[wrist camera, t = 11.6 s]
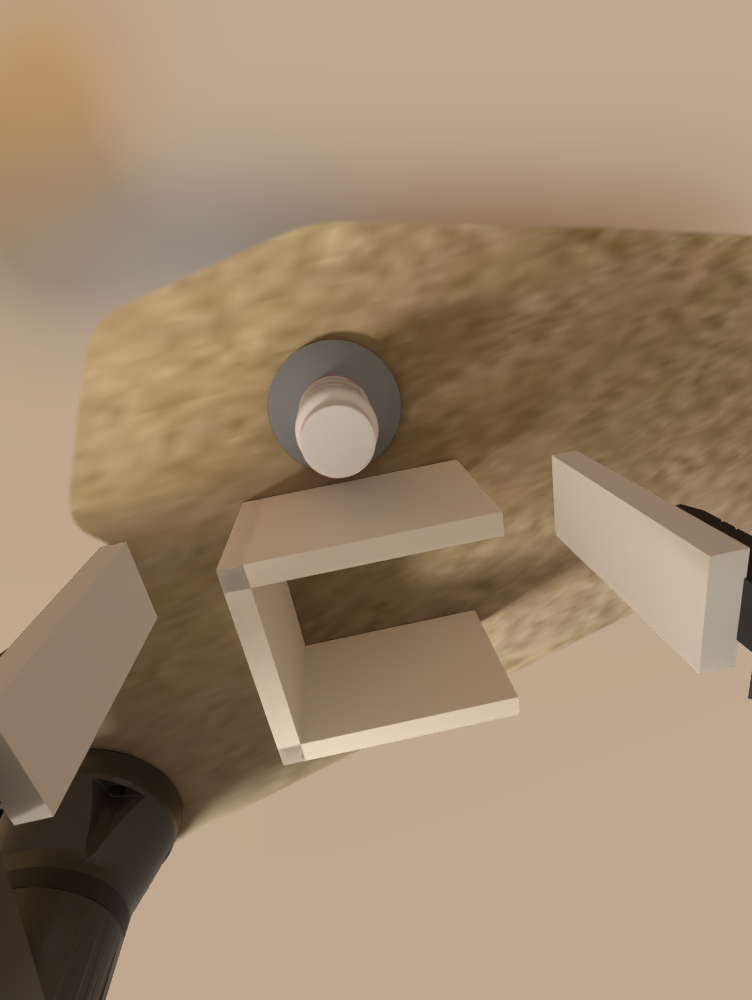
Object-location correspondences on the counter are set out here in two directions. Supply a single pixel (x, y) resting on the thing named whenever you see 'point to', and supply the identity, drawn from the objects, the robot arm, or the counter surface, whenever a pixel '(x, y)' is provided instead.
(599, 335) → the counter surface
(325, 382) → the pill bottle
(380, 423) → the coaster
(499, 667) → the cubby
